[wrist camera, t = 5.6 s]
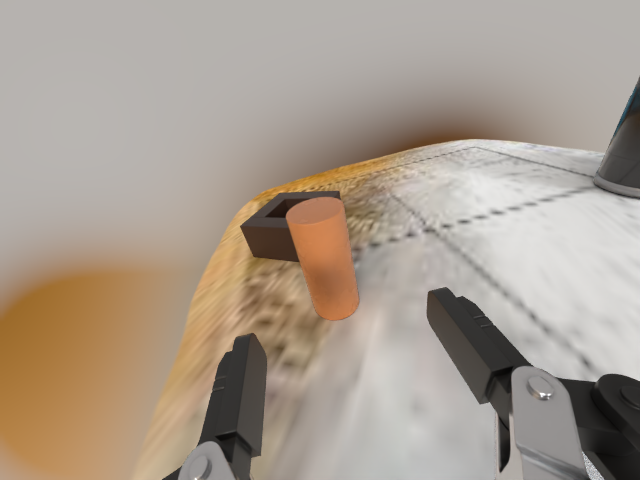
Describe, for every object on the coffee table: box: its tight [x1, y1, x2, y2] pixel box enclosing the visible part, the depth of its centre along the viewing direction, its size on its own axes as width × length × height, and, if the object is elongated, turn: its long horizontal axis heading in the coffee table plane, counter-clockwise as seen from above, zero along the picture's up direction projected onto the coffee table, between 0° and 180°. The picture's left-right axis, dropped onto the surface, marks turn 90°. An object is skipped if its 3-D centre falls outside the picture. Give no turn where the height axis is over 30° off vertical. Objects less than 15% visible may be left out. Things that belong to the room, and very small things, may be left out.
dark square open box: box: [240, 191, 341, 262], centre depth 33 cm, size 10×10×5 cm
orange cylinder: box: [286, 197, 359, 320], centre depth 20 cm, size 4×4×10 cm
